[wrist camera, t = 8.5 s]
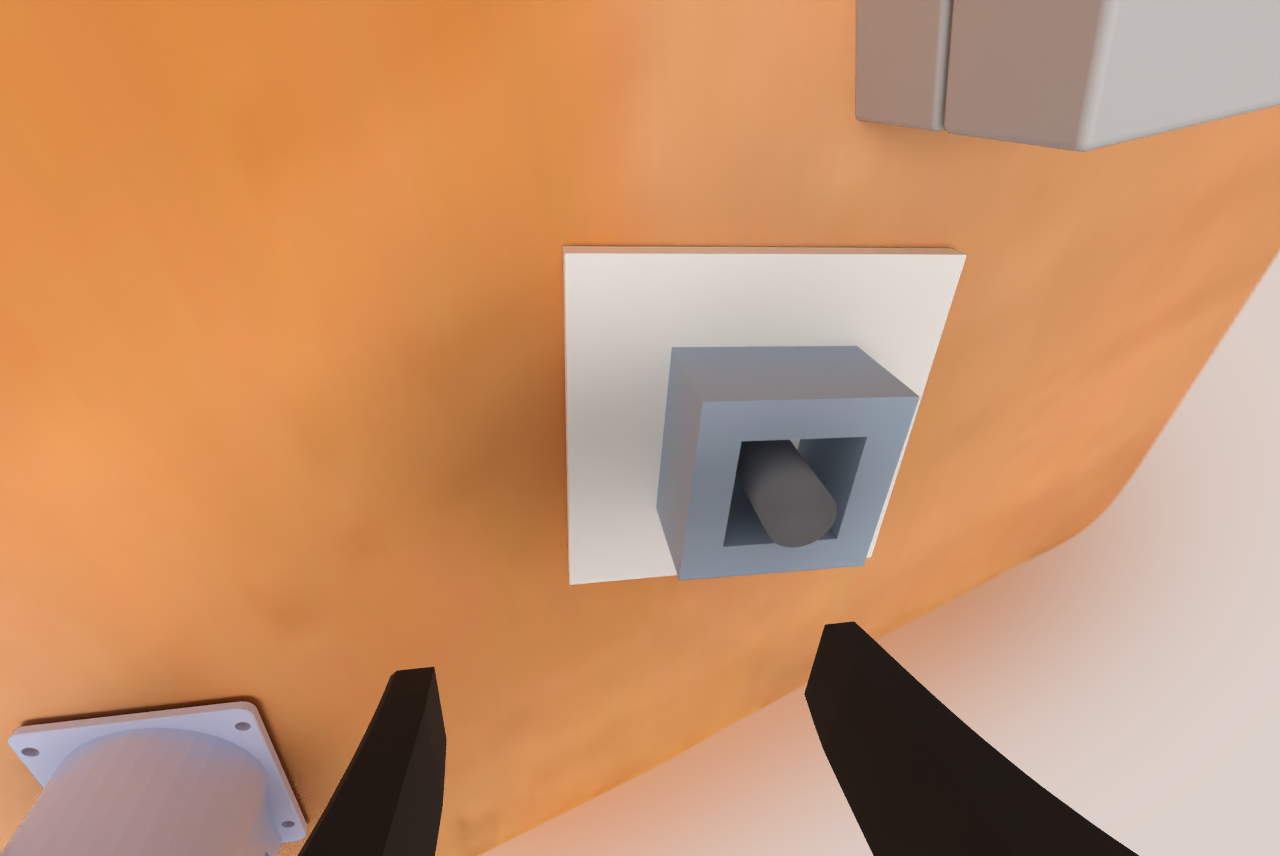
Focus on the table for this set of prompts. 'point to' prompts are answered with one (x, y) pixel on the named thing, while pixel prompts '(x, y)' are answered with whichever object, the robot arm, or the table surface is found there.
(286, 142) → the table surface
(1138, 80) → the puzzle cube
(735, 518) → the grey square ring
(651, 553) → the post plate
